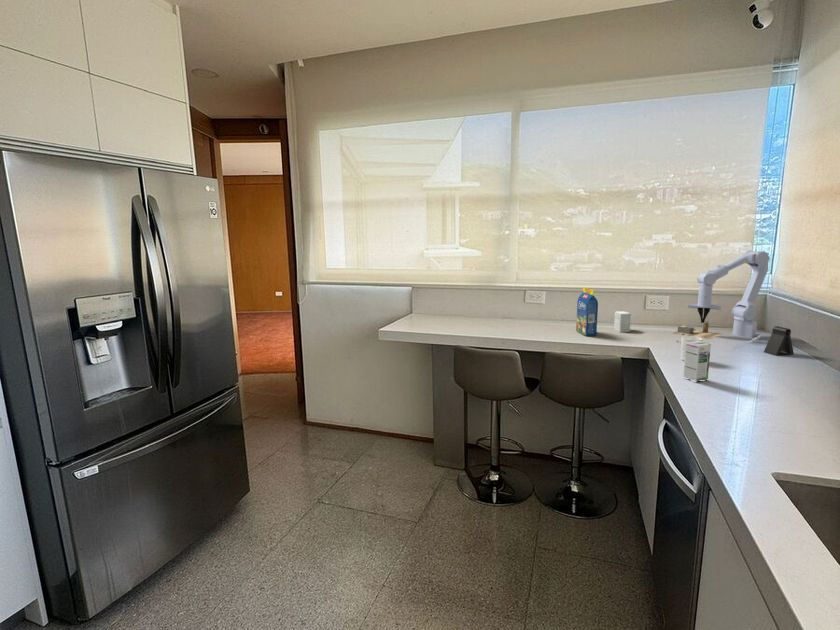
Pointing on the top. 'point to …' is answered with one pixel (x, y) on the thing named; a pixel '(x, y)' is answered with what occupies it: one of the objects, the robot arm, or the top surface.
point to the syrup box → (697, 360)
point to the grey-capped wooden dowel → (705, 327)
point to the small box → (622, 321)
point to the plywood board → (700, 334)
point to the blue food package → (587, 313)
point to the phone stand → (779, 342)
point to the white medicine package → (684, 340)
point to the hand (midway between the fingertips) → (702, 322)
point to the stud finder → (685, 329)
